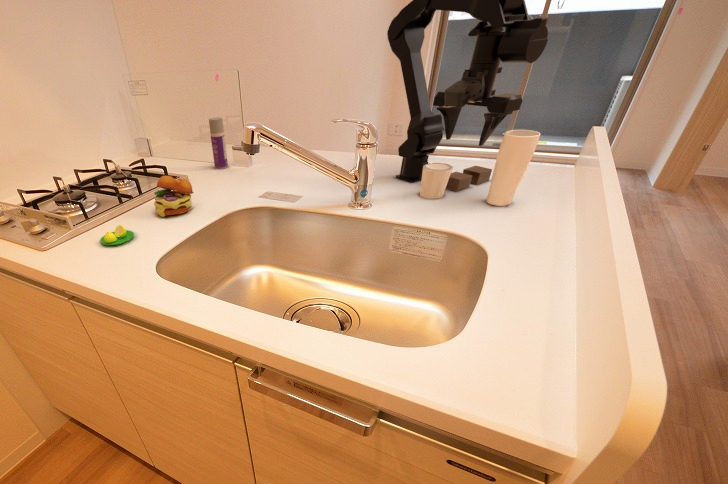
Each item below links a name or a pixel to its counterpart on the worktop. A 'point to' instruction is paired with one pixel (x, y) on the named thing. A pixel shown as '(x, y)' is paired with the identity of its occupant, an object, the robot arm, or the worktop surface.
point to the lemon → (117, 236)
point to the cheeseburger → (173, 196)
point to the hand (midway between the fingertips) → (463, 142)
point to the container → (218, 142)
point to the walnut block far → (478, 174)
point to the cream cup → (434, 180)
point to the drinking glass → (511, 165)
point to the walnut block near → (458, 181)
